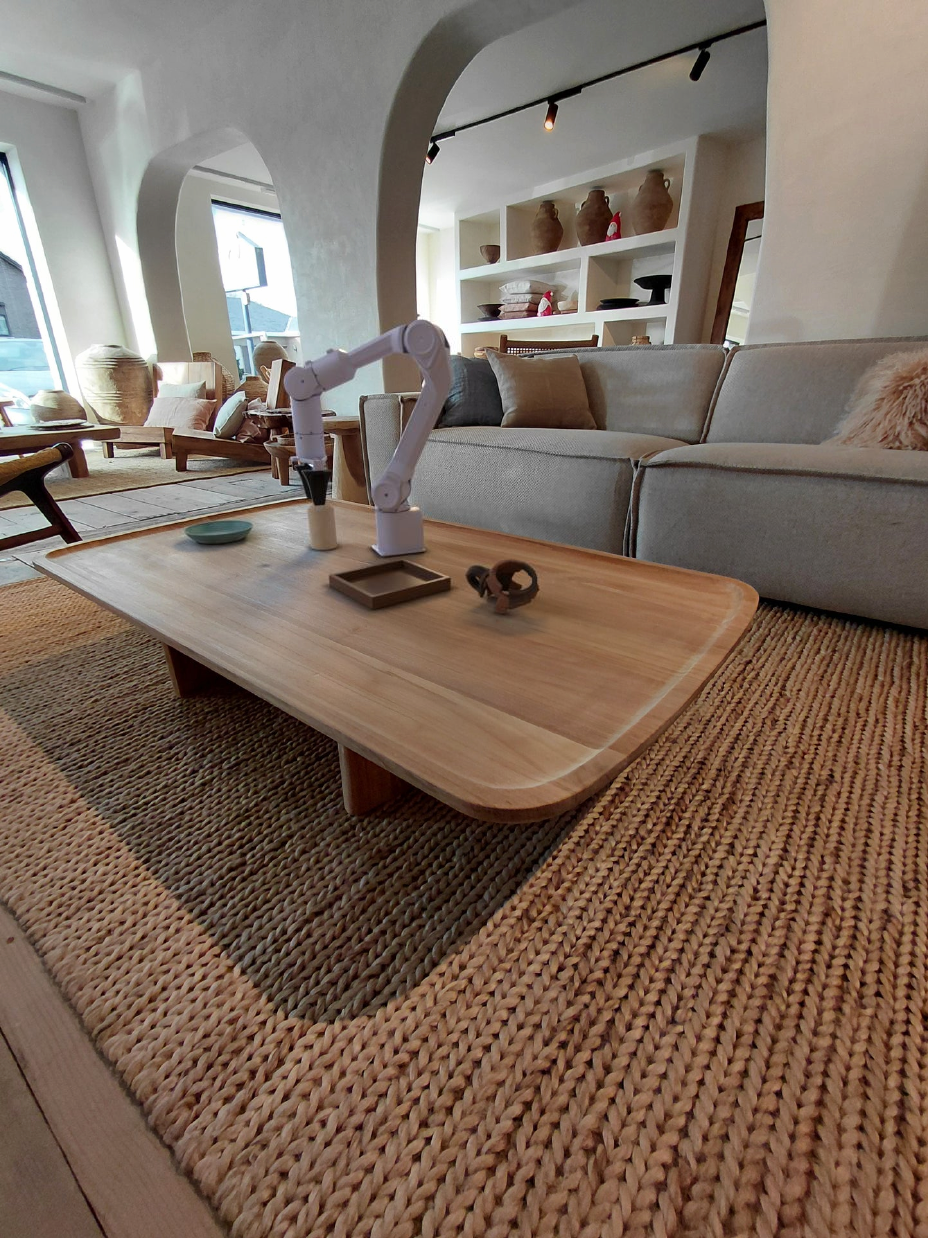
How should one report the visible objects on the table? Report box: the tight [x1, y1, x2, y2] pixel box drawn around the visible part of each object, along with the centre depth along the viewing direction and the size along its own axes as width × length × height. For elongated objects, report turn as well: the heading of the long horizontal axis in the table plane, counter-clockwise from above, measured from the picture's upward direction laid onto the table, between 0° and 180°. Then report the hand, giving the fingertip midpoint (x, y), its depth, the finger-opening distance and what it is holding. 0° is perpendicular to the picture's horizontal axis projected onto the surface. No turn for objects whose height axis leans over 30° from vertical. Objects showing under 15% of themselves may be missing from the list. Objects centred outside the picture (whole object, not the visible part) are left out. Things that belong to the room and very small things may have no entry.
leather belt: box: [465, 558, 540, 615], centre depth 91 cm, size 12×10×8 cm
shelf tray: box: [328, 558, 452, 611], centre depth 100 cm, size 16×15×2 cm
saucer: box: [183, 519, 254, 545], centre depth 131 cm, size 15×15×3 cm
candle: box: [306, 500, 338, 551], centre depth 122 cm, size 6×6×10 cm
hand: (315, 501), depth 120 cm, fingers open, 7 cm apart
